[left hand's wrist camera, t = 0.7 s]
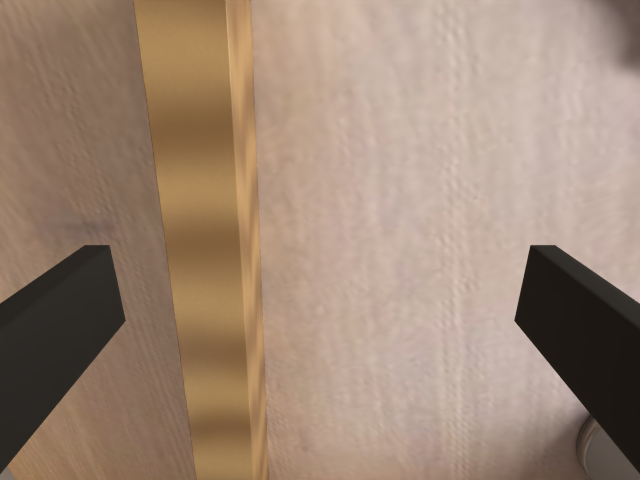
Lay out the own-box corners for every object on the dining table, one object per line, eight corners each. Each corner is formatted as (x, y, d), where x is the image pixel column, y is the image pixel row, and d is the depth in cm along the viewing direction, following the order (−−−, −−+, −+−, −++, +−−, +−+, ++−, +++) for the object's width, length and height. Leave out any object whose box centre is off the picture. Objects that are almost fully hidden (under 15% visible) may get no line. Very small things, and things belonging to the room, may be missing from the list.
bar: (178, -35, 29) (121, -83, 21) (249, -33, 29) (221, -81, 21) (227, 491, 49) (208, 572, 40) (269, 491, 49) (259, 573, 41)
